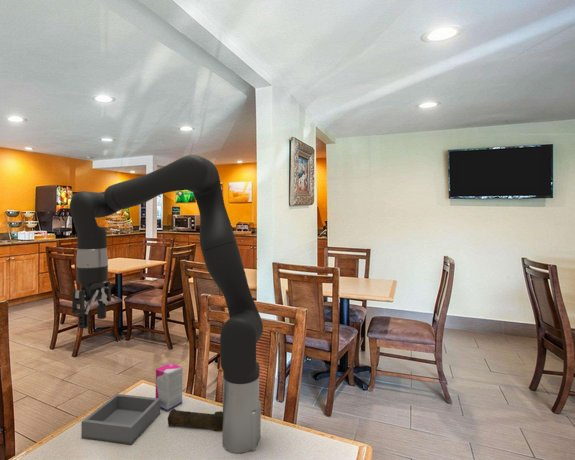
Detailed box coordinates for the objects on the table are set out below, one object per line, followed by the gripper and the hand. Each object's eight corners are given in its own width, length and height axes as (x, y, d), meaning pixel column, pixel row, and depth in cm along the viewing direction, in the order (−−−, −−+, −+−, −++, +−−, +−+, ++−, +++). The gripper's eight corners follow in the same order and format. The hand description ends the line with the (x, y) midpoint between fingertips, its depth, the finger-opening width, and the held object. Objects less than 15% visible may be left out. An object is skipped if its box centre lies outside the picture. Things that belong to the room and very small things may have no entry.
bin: (160, 413, 100) (160, 398, 99) (131, 445, 86) (131, 427, 86) (116, 408, 102) (116, 393, 102) (81, 438, 88) (81, 421, 88)
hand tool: (166, 428, 93) (166, 411, 93) (173, 419, 97) (173, 403, 97) (232, 437, 90) (232, 420, 90) (237, 428, 94) (237, 412, 94)
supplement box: (183, 402, 106) (183, 366, 105) (167, 412, 101) (167, 373, 100) (170, 397, 109) (170, 362, 108) (154, 406, 104) (154, 369, 103)
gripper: (90, 268, 87) (91, 331, 87) (119, 261, 101) (119, 315, 101) (61, 268, 87) (62, 331, 87) (94, 261, 101) (94, 315, 102)
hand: (93, 323), depth 94 cm, fingers open, 8 cm apart
